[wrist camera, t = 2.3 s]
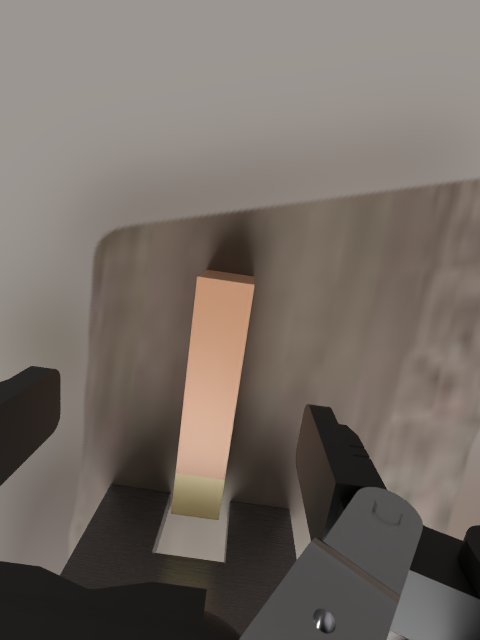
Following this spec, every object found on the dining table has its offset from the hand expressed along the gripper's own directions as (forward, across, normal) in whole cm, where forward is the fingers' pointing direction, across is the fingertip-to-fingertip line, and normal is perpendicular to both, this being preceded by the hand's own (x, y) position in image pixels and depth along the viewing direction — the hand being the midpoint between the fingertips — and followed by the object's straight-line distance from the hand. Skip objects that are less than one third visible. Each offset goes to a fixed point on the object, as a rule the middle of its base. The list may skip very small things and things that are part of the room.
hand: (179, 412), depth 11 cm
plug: (+18, 0, +7) cm, 20 cm away
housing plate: (+18, 0, +21) cm, 28 cm away
